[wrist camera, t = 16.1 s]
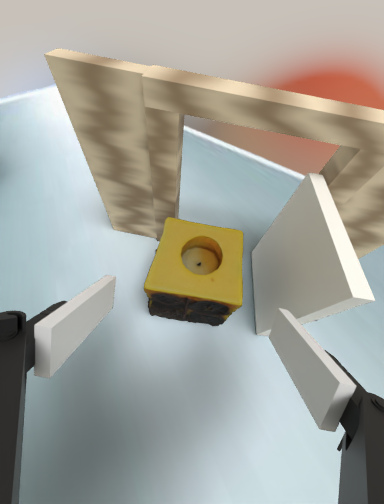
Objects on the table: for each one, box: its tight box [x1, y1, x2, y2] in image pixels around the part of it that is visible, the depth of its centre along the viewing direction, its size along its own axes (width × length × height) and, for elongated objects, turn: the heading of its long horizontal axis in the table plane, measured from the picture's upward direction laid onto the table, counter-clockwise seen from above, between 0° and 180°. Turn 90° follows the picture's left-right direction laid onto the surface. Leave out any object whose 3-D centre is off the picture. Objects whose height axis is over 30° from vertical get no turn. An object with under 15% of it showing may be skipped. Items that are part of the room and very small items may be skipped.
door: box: [252, 173, 375, 336], centre depth 23 cm, size 14×3×16 cm, turn 173°
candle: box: [144, 217, 243, 326], centre depth 25 cm, size 10×10×10 cm
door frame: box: [44, 48, 384, 259], centre depth 24 cm, size 40×3×22 cm, turn 80°
